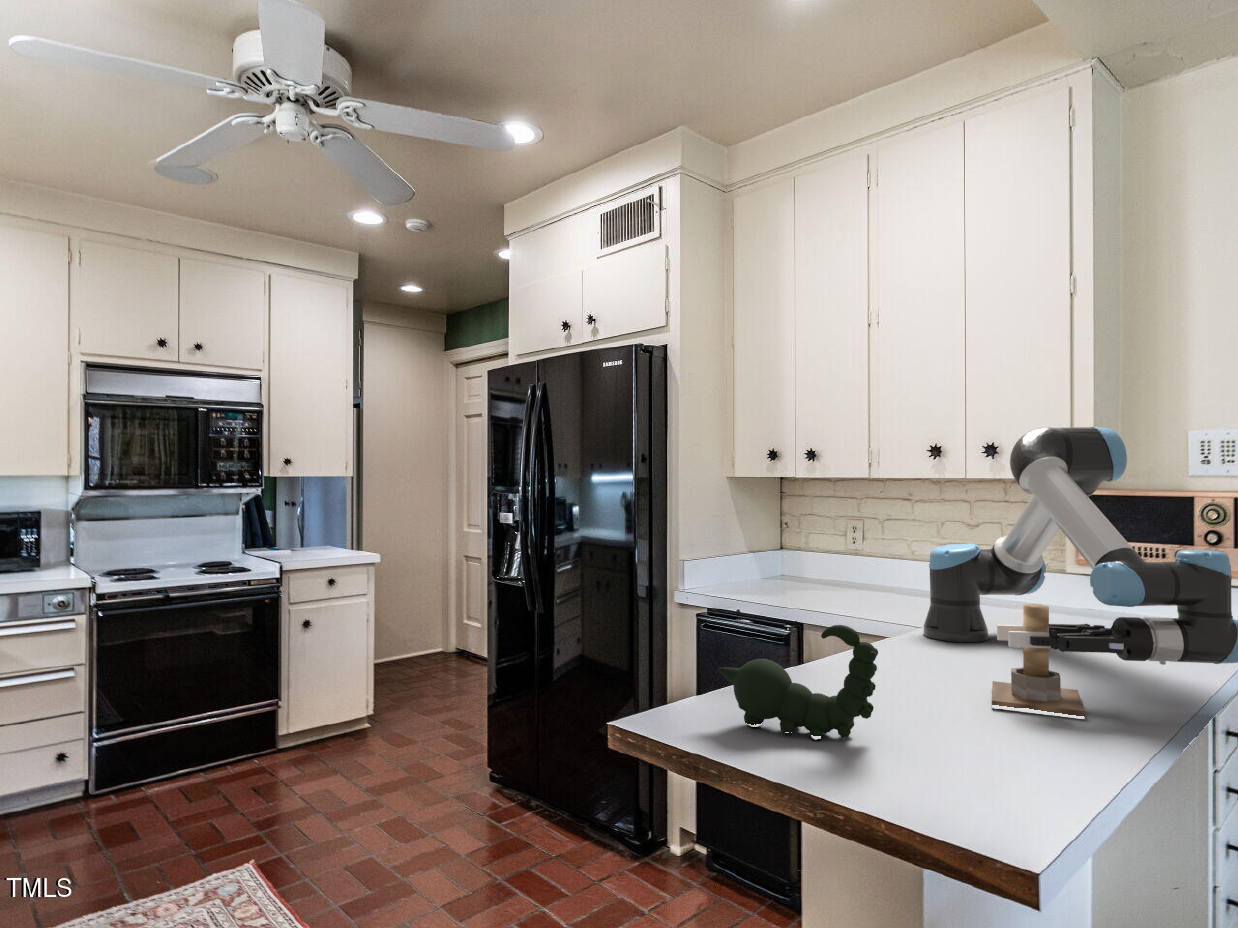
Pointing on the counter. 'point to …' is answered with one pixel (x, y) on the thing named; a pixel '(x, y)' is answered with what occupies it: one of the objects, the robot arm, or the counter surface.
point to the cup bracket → (1037, 694)
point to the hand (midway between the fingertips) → (1003, 635)
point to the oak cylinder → (1036, 657)
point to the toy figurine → (806, 691)
